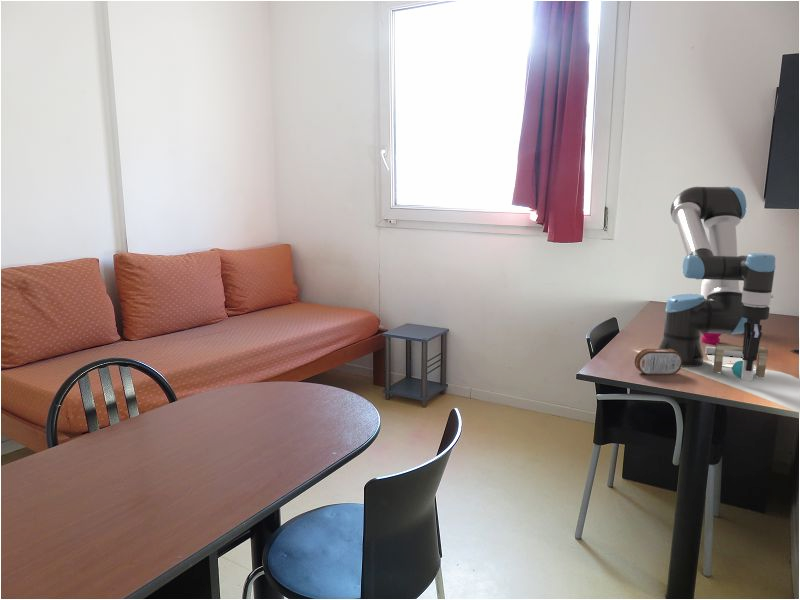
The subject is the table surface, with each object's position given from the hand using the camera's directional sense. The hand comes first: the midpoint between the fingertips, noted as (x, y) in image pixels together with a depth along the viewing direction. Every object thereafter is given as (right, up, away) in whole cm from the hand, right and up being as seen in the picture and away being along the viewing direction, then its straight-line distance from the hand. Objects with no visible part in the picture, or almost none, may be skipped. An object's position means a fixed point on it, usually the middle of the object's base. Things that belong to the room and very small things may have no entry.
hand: (746, 379), depth 188 cm
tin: (-23, 0, +11) cm, 25 cm away
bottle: (+27, +12, +78) cm, 83 cm away
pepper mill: (+16, +8, +53) cm, 56 cm away
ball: (+3, +2, +8) cm, 9 cm away
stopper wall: (+12, +4, +34) cm, 37 cm away
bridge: (+4, 0, +12) cm, 13 cm away
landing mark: (+9, +3, +25) cm, 27 cm away
